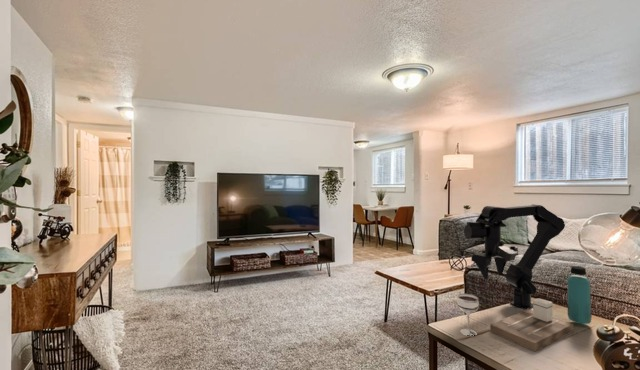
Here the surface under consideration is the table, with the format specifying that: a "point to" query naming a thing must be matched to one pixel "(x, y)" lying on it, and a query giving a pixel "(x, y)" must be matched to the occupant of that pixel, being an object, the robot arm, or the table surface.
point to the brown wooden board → (531, 330)
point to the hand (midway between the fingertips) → (493, 277)
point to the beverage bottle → (579, 296)
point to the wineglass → (468, 309)
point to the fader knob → (542, 309)
